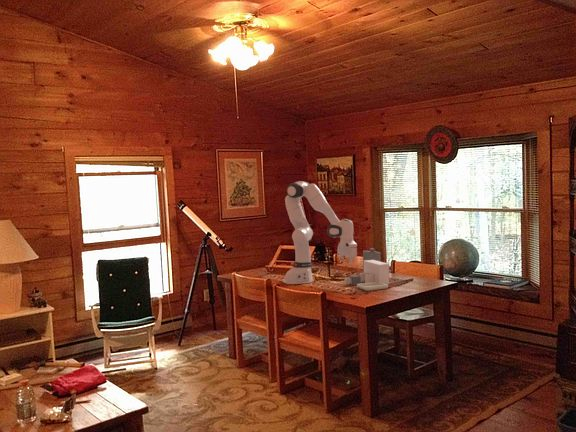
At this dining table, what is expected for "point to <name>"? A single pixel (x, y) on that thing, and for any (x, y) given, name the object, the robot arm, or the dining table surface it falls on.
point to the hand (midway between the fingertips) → (346, 262)
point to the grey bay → (375, 272)
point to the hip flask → (371, 256)
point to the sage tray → (372, 286)
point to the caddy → (353, 280)
